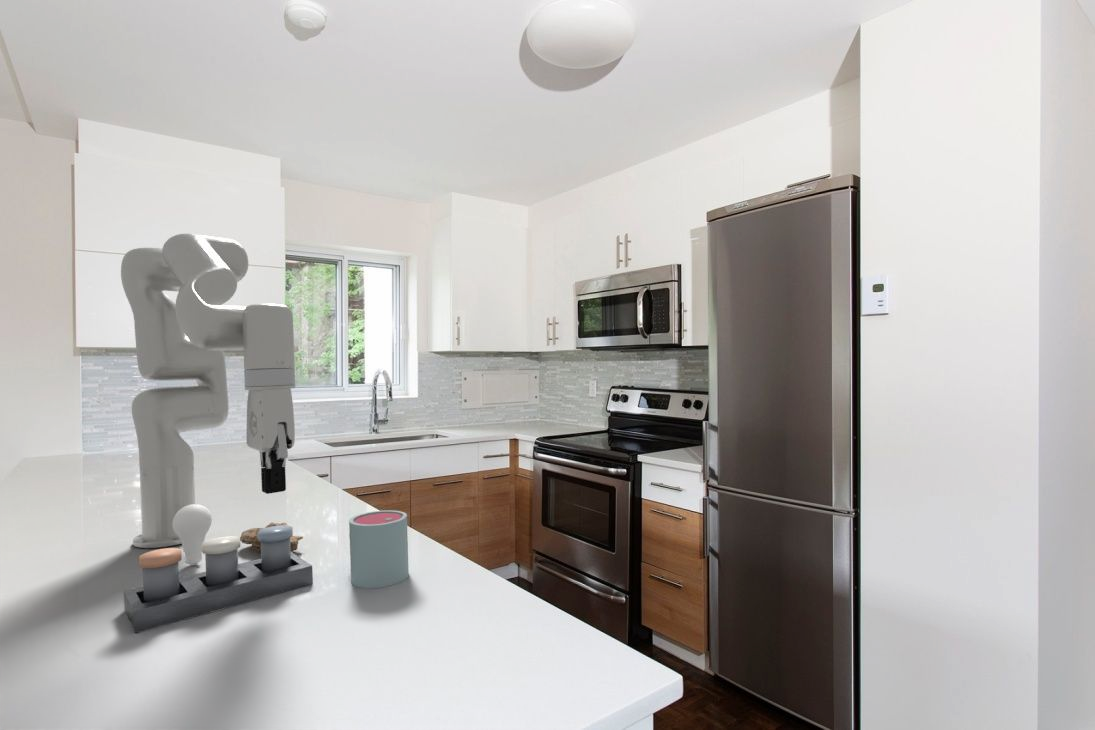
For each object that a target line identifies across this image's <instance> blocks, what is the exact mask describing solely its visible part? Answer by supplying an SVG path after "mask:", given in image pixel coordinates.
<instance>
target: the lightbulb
mask: <svg viewBox="0 0 1095 730" xmlns="http://www.w3.org/2000/svg"><path fill="white" fill-rule="evenodd" d="M212 516H213V515H212V514H211V511H210V510H209V509H208V508H207V507H206V506H204V505H203V504H202V505H201V504H198V503H197V504H196V503H195V504H191V505H188V506H185V507H183V508H181V509H180V510H179V511H178V512H177V513H176V515H175V516H174V519H173V523H172V526H173V529H174V531H175V533H176V534H177V536H178V537H179V538H180V540H181V542H182V544H181V545H182V552H183V553H184V559H185V563H186V564H187V565H190V566H192V567H193V566H196V565H198V564H199V563H200V562H201V561H202V559H203V553H202V543H203V542H205V539H206V535H207V534H208V532H209V530H210V528H211V526H212V522H213V517H212Z"/></svg>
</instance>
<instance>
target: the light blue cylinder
mask: <svg viewBox="0 0 1095 730" xmlns="http://www.w3.org/2000/svg"><path fill="white" fill-rule="evenodd" d="M292 536H294V533H293V526H291V525H287V526H286V525H281V526H272V527H267V528H265V527H264V529H261V530H259V531H258V541H260V542H261V552H260V556H261V557H260V559H261V564H262V571H263V572H271V571H275V570H279V569H283V568H287V567H290V566H291V548H290V537H292Z"/></svg>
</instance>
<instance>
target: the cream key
mask: <svg viewBox="0 0 1095 730" xmlns="http://www.w3.org/2000/svg"><path fill="white" fill-rule="evenodd" d="M240 537H241V536H237V535H226V536H218V537H213V538H210V539H207V540H204V542H203V543H202V554H203V555H204V557H205V558H204V559H205V560H204V561H205V572H206V584H207V585H208V586H215V585H219V584H223V583H227V582H231V581H235V580H238V578H239V576H238V564H239V553H238V552H239V550H238V549H239V548H241V541H240Z"/></svg>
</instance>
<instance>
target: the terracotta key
mask: <svg viewBox="0 0 1095 730" xmlns="http://www.w3.org/2000/svg"><path fill="white" fill-rule="evenodd" d="M182 554H183V553H182V549H181V548H177V547H164V548H159V549H158V548H157V549H154V550H150V551H147V552H144V553H143V554H141V555H139V556H138V566H139V568H142V585H143V590H144V601H146V602H151V601H155V600H159V599H163V598H167V597H171V596H175V595H178V594H179V593H180V587H179V578H180V566H179V562H180V561H181V560H182Z"/></svg>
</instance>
